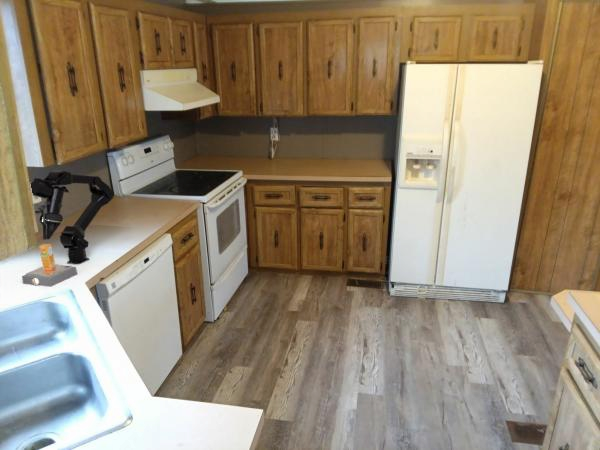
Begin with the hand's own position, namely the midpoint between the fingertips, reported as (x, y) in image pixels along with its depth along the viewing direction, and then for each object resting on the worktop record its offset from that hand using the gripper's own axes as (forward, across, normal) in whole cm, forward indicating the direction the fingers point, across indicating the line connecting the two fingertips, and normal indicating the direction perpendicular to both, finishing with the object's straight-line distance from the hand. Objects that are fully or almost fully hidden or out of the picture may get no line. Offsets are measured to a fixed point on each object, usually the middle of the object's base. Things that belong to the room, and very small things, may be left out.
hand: (45, 239), depth 177 cm
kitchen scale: (+15, +5, +4) cm, 16 cm away
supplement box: (+12, +6, +3) cm, 13 cm away
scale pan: (+12, +6, +3) cm, 14 cm away
